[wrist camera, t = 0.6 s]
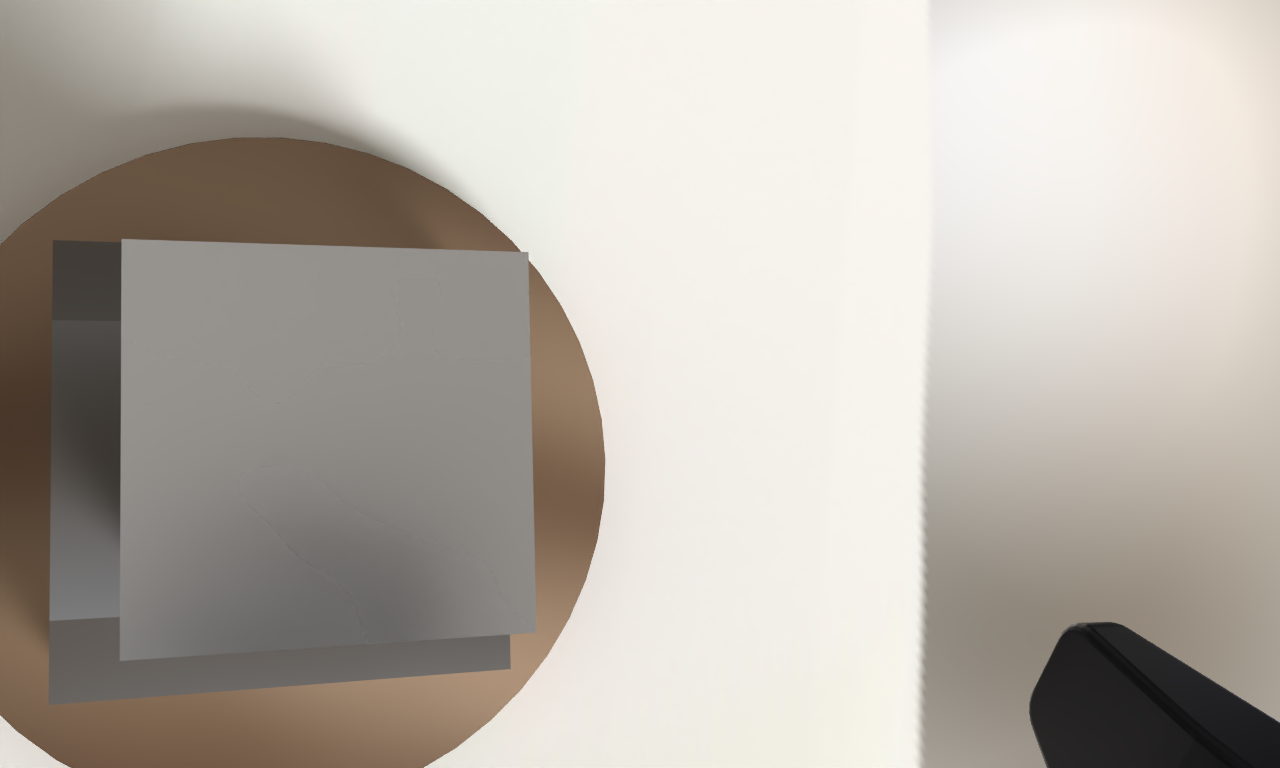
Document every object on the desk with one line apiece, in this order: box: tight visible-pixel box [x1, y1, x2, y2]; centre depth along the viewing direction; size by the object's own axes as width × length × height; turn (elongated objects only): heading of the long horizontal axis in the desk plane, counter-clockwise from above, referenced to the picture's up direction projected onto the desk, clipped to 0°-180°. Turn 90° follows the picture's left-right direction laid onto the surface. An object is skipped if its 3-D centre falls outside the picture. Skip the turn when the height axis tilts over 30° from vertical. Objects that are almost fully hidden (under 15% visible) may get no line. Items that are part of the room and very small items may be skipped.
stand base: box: [0, 138, 605, 768], centre depth 21 cm, size 12×12×4 cm
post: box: [120, 239, 536, 661], centre depth 16 cm, size 4×4×11 cm
